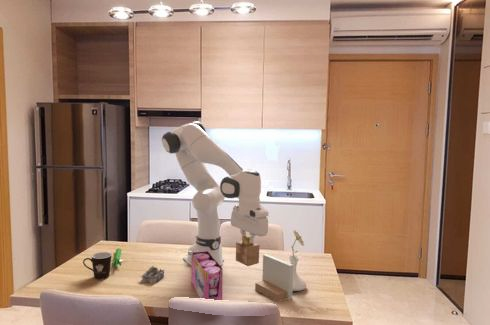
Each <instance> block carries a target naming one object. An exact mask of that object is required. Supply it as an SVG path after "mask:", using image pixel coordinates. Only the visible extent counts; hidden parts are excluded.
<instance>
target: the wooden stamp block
mask: <svg viewBox="0 0 490 325" xmlns="http://www.w3.org/2000/svg"><path fill="white" fill-rule="evenodd" d="M250 236H251V235H250V234H246V236H242V235H241V240H239V241H236V242H235V261H236V262H238V263H241V264H242V265H244V266H247V267H250V266H253V265H256V264H259V263H260V243H257V242H254V241H253V243H249V242H248V238H250Z"/></svg>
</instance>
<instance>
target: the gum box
mask: <svg viewBox="0 0 490 325" xmlns="http://www.w3.org/2000/svg"><path fill="white" fill-rule="evenodd" d="M191 260H192V266H190V267H191V268H190V269H191V272H190V273H191V281H190V282H191V283H192V286H193V288H194V290H195V292H196V293H197V296H199V299H200V298H205V299H214V300H222V301H223V267H222V265H221V266H220V265H219V264H218V262H217V261H216V260H215V259H214V258H213V257H212V256H211V254H210V253H209V252H208V251H205V252H195V253H192V257H191Z"/></svg>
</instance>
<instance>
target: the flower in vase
mask: <svg viewBox="0 0 490 325" xmlns="http://www.w3.org/2000/svg"><path fill="white" fill-rule="evenodd" d="M293 235H294V236H295V240H294V242H293V244H292V246H291V249H292V252H291V253H292V255H289V256H288V257H287V258H288V259H289V261H290V262H289V263H290V264H293V289H292V292H298V291H303V290H305V289H306V288H307V284H306V282H305V280H304V279H303V278H301V277H300V276H299V275H298V273H297V264H298V262H299V260H300V259H301V257H300V256H299V255H295V254H296V253H298V250H296V251H295V249H294V246H295V245H296V244H295V243H296V242H297V241H298V243H299V244H300V245H301V246H302V247H303V246H305V244H304V241H303V239H302V236H301V235H300V234H299V232H298V231H297V230H296V229H294V230H293Z"/></svg>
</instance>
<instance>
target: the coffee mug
mask: <svg viewBox="0 0 490 325" xmlns="http://www.w3.org/2000/svg"><path fill="white" fill-rule="evenodd" d="M86 260H89V261H90V262H91V263H92V265H91V266H92V268H91V267H90V266H87V264H86V263H85V262H86ZM82 263H83V266H84V267H86V268H87V269H89V270H91V271H92V272H93V278H94V279H95V280H106V279H108V278H110V274H111V272H110V271H111V266H112V253H111V252H109V251H102V252H96V253H93V254H92V255H91V258H90V257H86V258H84V259H83V261H82Z"/></svg>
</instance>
